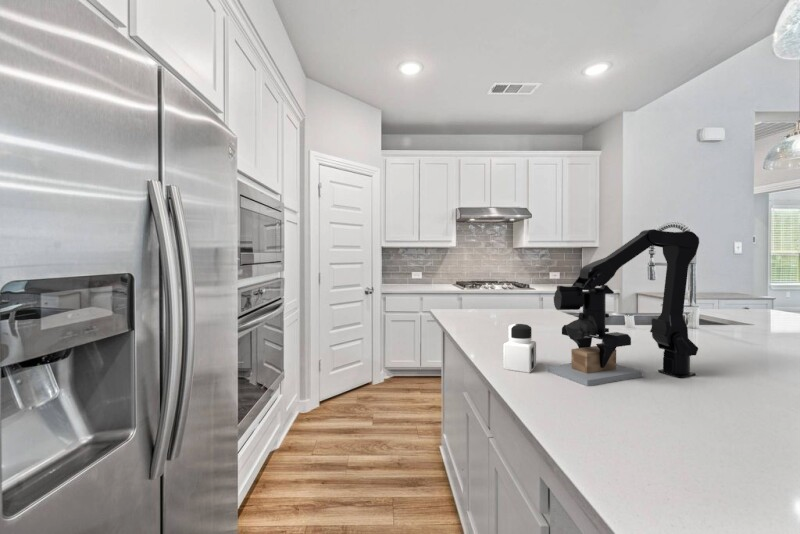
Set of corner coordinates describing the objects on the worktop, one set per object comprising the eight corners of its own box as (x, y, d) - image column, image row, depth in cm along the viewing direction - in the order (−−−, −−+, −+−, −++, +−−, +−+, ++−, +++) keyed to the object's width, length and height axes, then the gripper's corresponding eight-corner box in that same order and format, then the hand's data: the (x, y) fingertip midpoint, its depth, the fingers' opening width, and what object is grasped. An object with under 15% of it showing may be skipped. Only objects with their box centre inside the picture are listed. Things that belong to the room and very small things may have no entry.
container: (536, 366, 117) (536, 323, 117) (529, 373, 111) (529, 327, 110) (510, 363, 121) (510, 321, 121) (503, 369, 115) (502, 325, 114)
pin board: (599, 363, 120) (599, 347, 119) (642, 376, 107) (642, 358, 106) (547, 371, 112) (547, 354, 112) (587, 386, 99) (587, 366, 99)
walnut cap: (599, 364, 114) (599, 345, 114) (616, 369, 109) (616, 349, 109) (571, 368, 110) (571, 349, 110) (587, 373, 105) (587, 353, 105)
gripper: (547, 307, 115) (547, 360, 115) (601, 316, 97) (600, 378, 98) (576, 305, 119) (576, 356, 119) (632, 313, 101) (632, 372, 102)
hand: (593, 365), depth 109 cm, fingers closed on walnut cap, 5 cm apart
